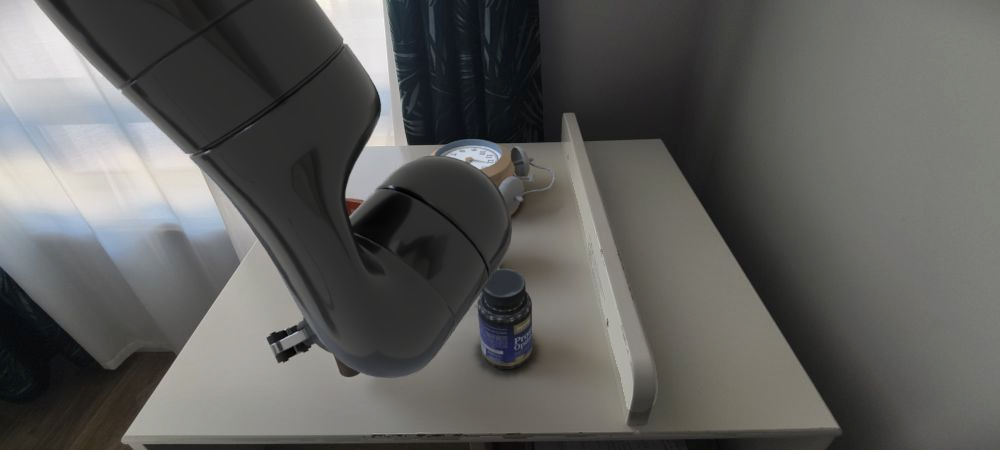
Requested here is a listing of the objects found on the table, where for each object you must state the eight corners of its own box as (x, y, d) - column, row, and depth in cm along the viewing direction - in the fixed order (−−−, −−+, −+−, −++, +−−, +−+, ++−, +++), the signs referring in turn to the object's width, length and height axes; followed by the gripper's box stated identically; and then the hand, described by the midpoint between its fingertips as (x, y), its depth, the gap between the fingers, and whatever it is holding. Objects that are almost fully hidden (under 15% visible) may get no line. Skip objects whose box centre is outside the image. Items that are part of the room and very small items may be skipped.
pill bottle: (524, 376, 56) (522, 307, 49) (474, 364, 58) (466, 296, 51) (538, 337, 61) (538, 269, 54) (491, 326, 62) (486, 259, 56)
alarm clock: (432, 130, 89) (559, 135, 86) (438, 174, 95) (558, 181, 91) (401, 177, 76) (550, 185, 72) (410, 225, 81) (549, 235, 77)
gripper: (417, 225, 41) (378, 265, 56) (242, 301, 34) (251, 323, 49) (457, 306, 41) (407, 324, 56) (288, 398, 34) (283, 390, 49)
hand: (334, 323), depth 52 cm, fingers closed on stick, 3 cm apart
